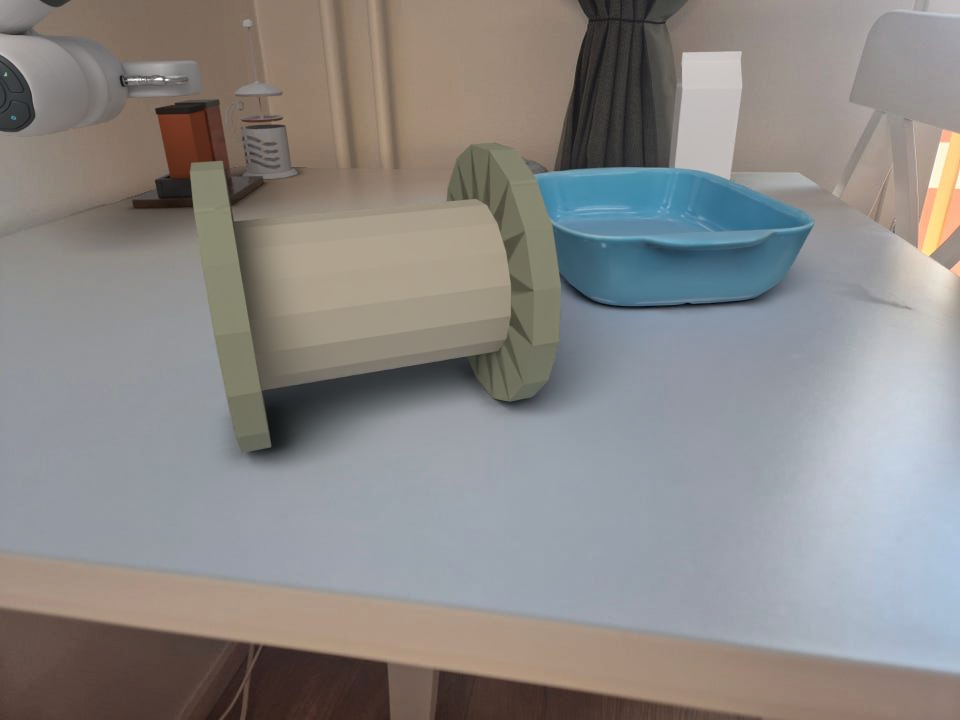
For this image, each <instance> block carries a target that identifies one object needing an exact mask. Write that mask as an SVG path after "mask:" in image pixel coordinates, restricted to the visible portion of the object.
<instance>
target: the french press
mask: <svg viewBox="0 0 960 720" xmlns="http://www.w3.org/2000/svg"><path fill="white" fill-rule="evenodd" d="M242 27H243V28H247V29H248V36H249V43H250V48H251V55H252V61H253V62H252V63H253V69H254V76H255V81H254V82H253V83H249V84H245V85H243V86H241V87H240V88H238V89H237V90H236V91H234V93H233V95H234V96H235V97H238V98H239V97H240V98H257V97H258V103H259V109H260V114H259V115H257V114H256V115H248V116H247V115H245V116H242V117H240V120H241V121H242V122H243V123H268V124H254V125H253V124H252V125H246V126H245V127H242V126H241V127H240V135H241V137H239V136H238V134H237V132H236V129H235V127H234V122H233V113H234V110H235V108H237V110H238V111H244V109H245V105H244V104H245V103H244V102H243V100H238V102H237V101H234V102H232V103H231V104H230V105H229V106H228V107H227V108H226V111H225V116H224V117H225V119H224V121H225V125H226V126H225V127H226V129H227V133H228V134H229V136H230V138H231V139H232V140H233V141H234V142H235V143H236V144H238V145H239V146H241V147H242V148H243V153H244V160H245V166H246V171H244V172H243V174H242V175H241V177H243V176H263V180H274V179H276V180H277V179H284V178H289V177H294V176H296V175H298V174H299V172H298V171H297V170H296V169H295V168H294V167H292V162H291V153H290V146H289V139H288V132H287V131H288V130H287V125H285V124H276V123H274V124H271V123H272V122H279V121H282V120H283V119H284V116H283V115H279V114H273V115H272V114H270V115H266V114H263V110H262V104H261V98H263V97H265V98H267V97H279V96H282V95H283V91H281V90H280V89H279V88H277V87H276V86H274V85H271V84H268V83H263V82H260V81H258V76H257V75H258V74H257V68H256V61H255V55H254V49H253V48H254V47H253V41H252V35H251V28H255V23H254V21H252V20H251V19H249V18H247V19H244V20H243V21H242ZM240 103H241V108H240V106H239V104H240ZM232 106H233V107H232ZM231 107H232V109H231ZM230 109H231V113H230V123H231V128H232V130H233V133H234V135H235V137H236V139H238V141H237V140H236V139H235V138H234V137H233V135H232V133H231V131H230V129H229V124H228V114H229V111H230ZM269 123H270V124H269ZM245 138H246V139H245ZM239 141H240V142H241V143H240V142H239ZM261 142H263V143H261ZM262 149H263V151H262ZM263 157H264V158H263ZM249 160H250V161H249Z"/></svg>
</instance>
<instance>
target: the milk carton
mask: <svg viewBox="0 0 960 720" xmlns="http://www.w3.org/2000/svg"><path fill="white" fill-rule="evenodd" d="M742 55H743V51H741V50H740V51H738V50H737V51H736V50H735V51H734V50H733V51H731V50H730V51H691V52H690V51H685V52H684V51H683V52H682V55H681V63H680V67H679V72H678V75H677V80H676V81H677V82H676V86H675V87H676V89H675V98H674V107H673V109H674V110H673V119H672V127H671V128H672V129H671V130H672V131H671V139H670V140H671V141H670V151H669V160H668V168H682V169H691V170H698V171H703V172H707V173H711V174H714V175H717V176H720V177H722V178H725V179H728V180H731V178H732V177H731V175H732V168H733V161H734V154H735V146H736V138H737V131H738V124H739V116H740V109H741V101H742V93H743V74H742Z"/></svg>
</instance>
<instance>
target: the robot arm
mask: <svg viewBox="0 0 960 720" xmlns="http://www.w3.org/2000/svg"><path fill="white" fill-rule="evenodd" d="M69 2H71V0H0V135H3V136H7V137H16V138H30V137H31V138H32V137H41V136H49V135H55V134H58V133H62V132H66V131H68V130H71V129H82V128H87V127H91V126H96V125H100V124H105V123H108V122H110V121H113V120H114V119H115V118H117V117H118V116H119V115H120V114H121V113H122V111H123V110H124V108H125V106H126V104H127V101H128V99H143V98H144V99H150V98H151V99H152V98H154V99H155V98H176V97H178V98H179V97H187V96H193V95H194V96H195V95H199V94H201V93H202V92H203V80H202V74H201V70H200V66H199V64H198V62H196V61H195V60H118V58H117V57H116V56H115V54H114V53H113V52H112V51H111V50H109V48H107V47H106V46H105V45H104V44H102V43H100V42H98V41H96V40H95V39H92V38H90V37H87V36H80V35H44V34H41V33H39V32H38V31H36V30H35V29H34V27H35V26H36V25H38V24H39V23H41V21H42V20H44V19H45V18H47V16H49V15H50V14H51V13H52V12H54V11H55V10H56V9H57V8H60V7H63V6H65V5H66V4H67V3H69Z"/></svg>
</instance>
